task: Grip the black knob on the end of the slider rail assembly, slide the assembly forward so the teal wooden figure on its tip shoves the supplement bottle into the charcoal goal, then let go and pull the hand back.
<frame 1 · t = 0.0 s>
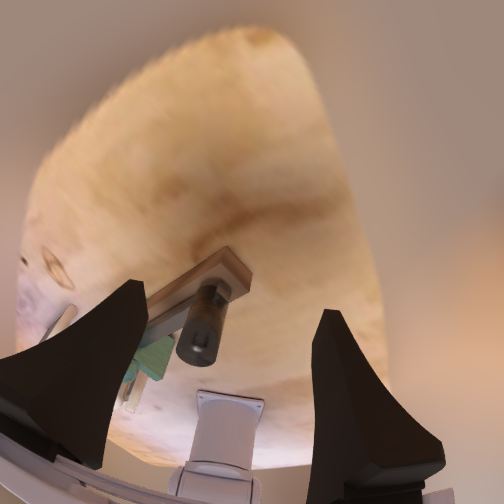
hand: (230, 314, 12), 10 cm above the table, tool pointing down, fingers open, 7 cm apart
rod guide: (219, 272, 24), on the table
slider rail assembly: (164, 334, 22), point 4 cm above the table, slide at 0.0 cm
goal: (95, 349, 32), on the table
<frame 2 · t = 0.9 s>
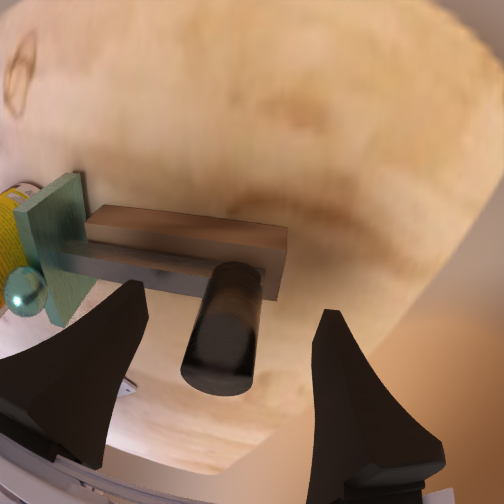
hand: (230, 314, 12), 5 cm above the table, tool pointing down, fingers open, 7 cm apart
supplement bottle: (36, 217, 17), on the table
rod guide: (244, 247, 16), on the table
slider rail assembly: (125, 284, 13), point 4 cm above the table, slide at 0.0 cm
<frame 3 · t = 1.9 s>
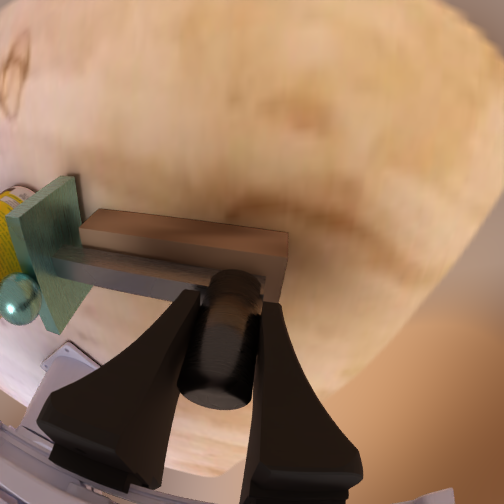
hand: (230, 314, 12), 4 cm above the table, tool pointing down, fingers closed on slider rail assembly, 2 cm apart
supplement bottle: (32, 220, 16), on the table
rod guide: (243, 253, 16), on the table
slider rail assembly: (120, 292, 12), point 4 cm above the table, slide at 0.0 cm, touching gripper
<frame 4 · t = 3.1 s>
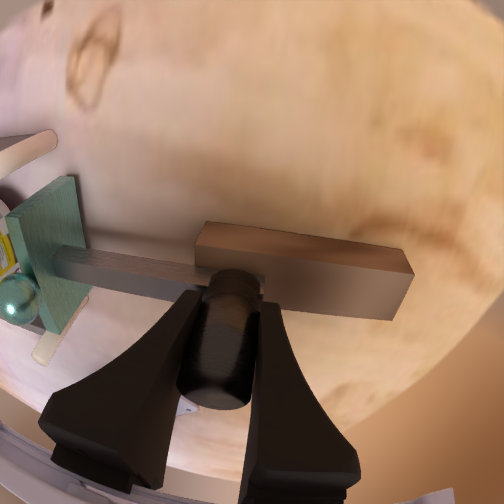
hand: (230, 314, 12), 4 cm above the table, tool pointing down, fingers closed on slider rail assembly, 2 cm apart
supplement bottle: (6, 227, 15), point 1 cm above the table
rod guide: (359, 268, 15), on the table
slider rail assembly: (120, 292, 12), point 4 cm above the table, slide at 6.0 cm, touching gripper
goal: (21, 221, 16), on the table
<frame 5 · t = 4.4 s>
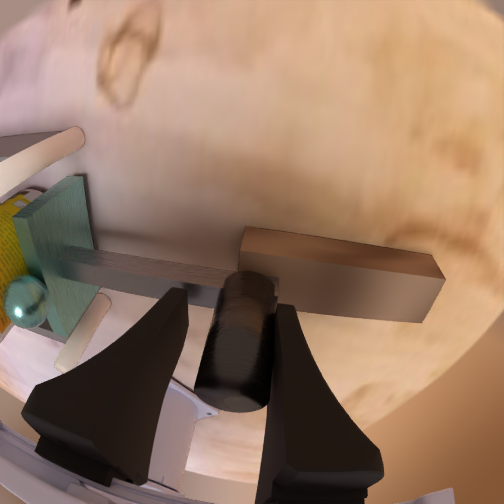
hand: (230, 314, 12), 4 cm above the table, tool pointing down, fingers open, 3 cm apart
supplement bottle: (45, 224, 16), on the table, touching slider rail assembly
rod guide: (391, 273, 15), on the table
slider rail assembly: (132, 294, 12), point 4 cm above the table, slide at 7.4 cm, touching supplement bottle, gripper
goal: (39, 223, 16), on the table
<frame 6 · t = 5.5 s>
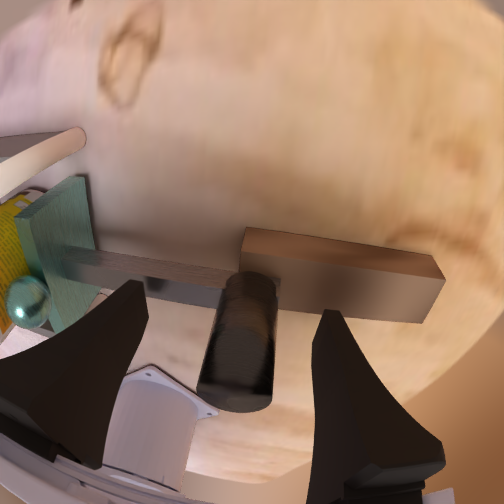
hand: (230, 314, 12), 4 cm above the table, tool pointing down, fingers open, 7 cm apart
supplement bottle: (45, 225, 16), on the table, touching slider rail assembly
rod guide: (391, 273, 15), on the table
slider rail assembly: (134, 295, 12), point 4 cm above the table, slide at 7.4 cm, touching supplement bottle
goal: (40, 223, 16), on the table
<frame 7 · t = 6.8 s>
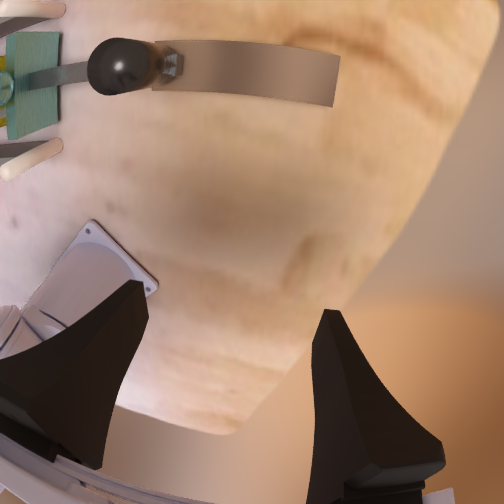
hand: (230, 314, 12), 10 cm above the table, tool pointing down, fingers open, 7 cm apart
rod guide: (297, 74, 16), on the table
slider rail assembly: (72, 73, 12), point 4 cm above the table, slide at 7.4 cm, touching supplement bottle
goal: (20, 84, 16), on the table
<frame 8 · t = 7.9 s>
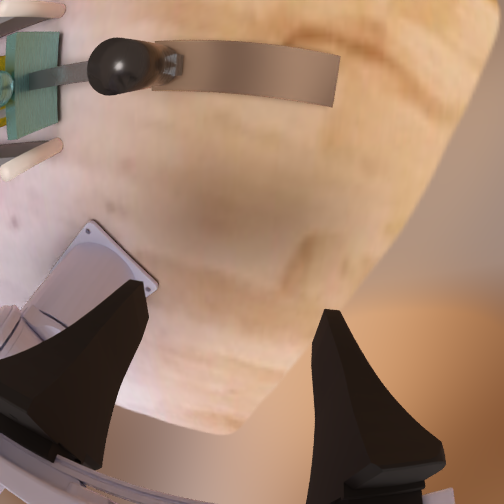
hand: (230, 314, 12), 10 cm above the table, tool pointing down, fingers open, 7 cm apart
rod guide: (297, 74, 16), on the table
slider rail assembly: (72, 73, 12), point 4 cm above the table, slide at 7.4 cm, touching supplement bottle
goal: (20, 84, 16), on the table
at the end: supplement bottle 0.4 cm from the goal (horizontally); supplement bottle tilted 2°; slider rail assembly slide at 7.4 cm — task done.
